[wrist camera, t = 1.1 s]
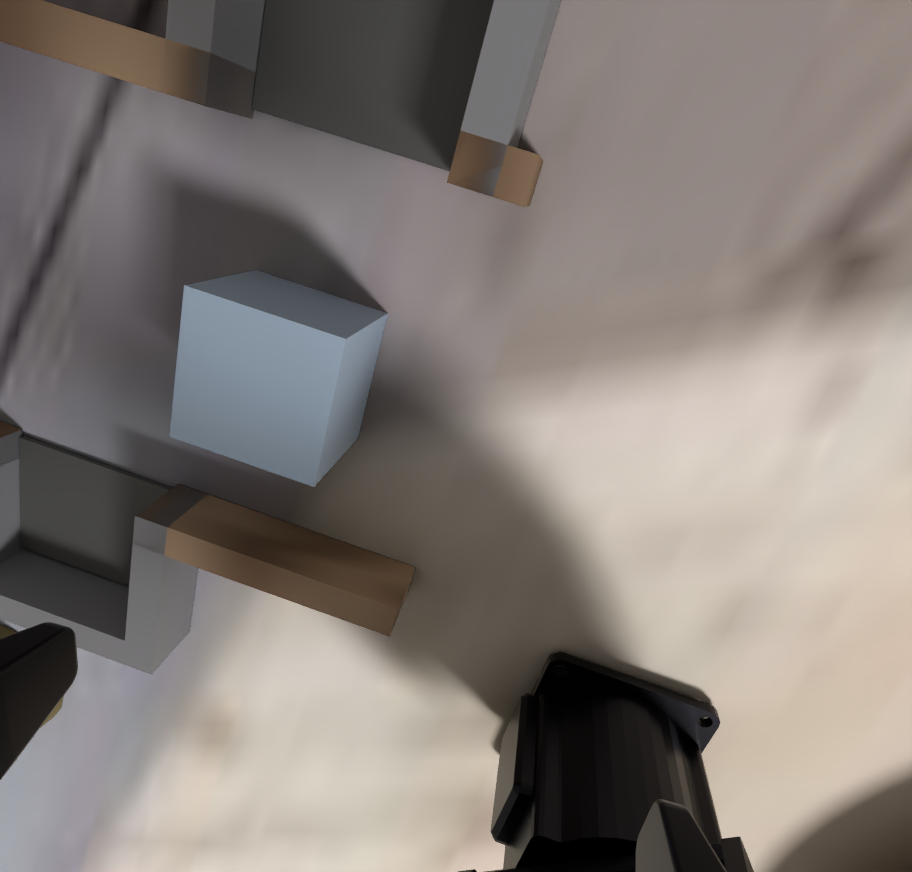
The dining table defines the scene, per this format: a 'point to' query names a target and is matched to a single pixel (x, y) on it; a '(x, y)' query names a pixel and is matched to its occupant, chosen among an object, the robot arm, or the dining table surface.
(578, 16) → the dining table surface
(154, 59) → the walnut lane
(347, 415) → the slate block
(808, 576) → the dining table surface
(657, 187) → the dining table surface
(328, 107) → the trap pockets
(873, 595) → the dining table surface
